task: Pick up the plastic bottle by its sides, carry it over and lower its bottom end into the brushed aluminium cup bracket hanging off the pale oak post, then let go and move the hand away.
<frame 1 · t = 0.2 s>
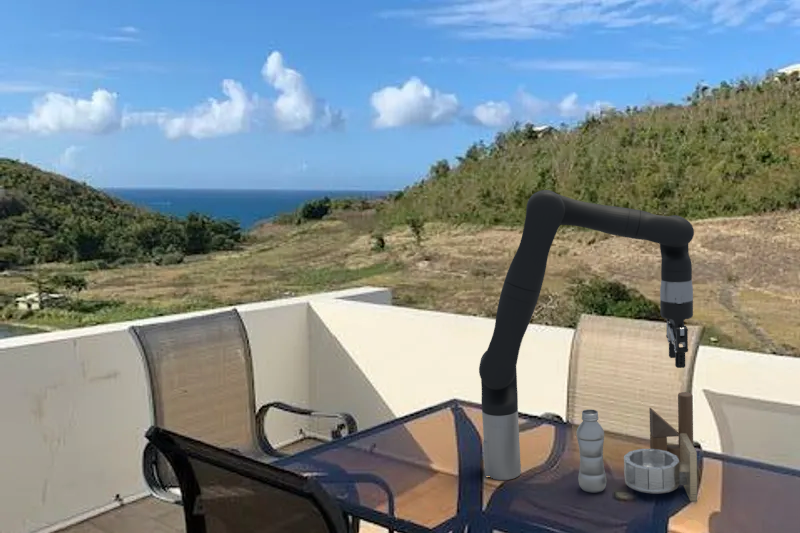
hand: (676, 362, 196), 29 cm above the table, tool pointing down, fingers open, 8 cm apart
cup bracket: (652, 490, 192), on the table
wooden wedge with rod: (672, 461, 208), on the table
plastic bottle: (592, 490, 194), on the table
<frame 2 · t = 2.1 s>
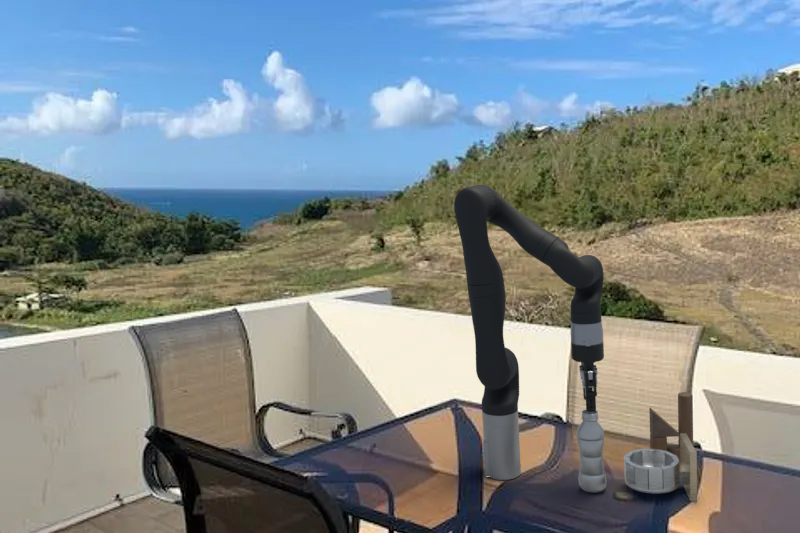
hand: (589, 405, 191), 22 cm above the table, tool pointing down, fingers open, 8 cm apart
nothing on the table moved.
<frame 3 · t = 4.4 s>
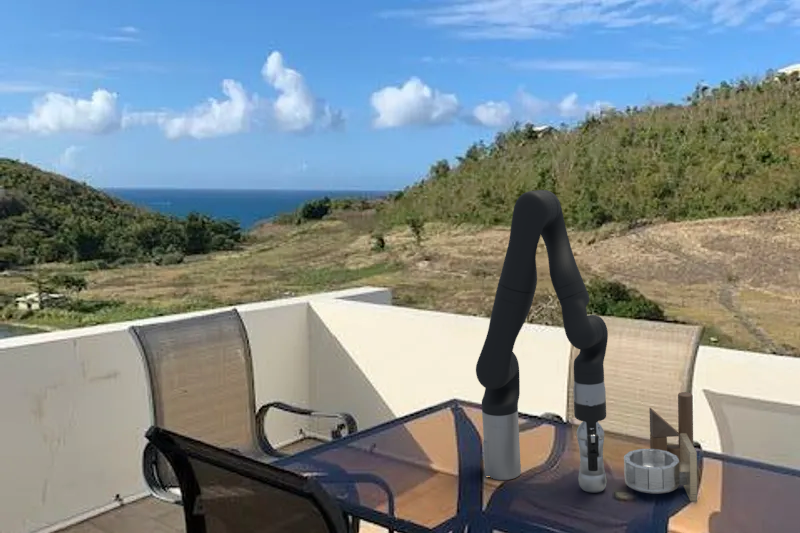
hand: (591, 465, 193), 6 cm above the table, tool pointing down, fingers closed on plastic bottle, 5 cm apart
plastic bottle: (592, 490, 194), on the table, touching gripper
everything else where it was.
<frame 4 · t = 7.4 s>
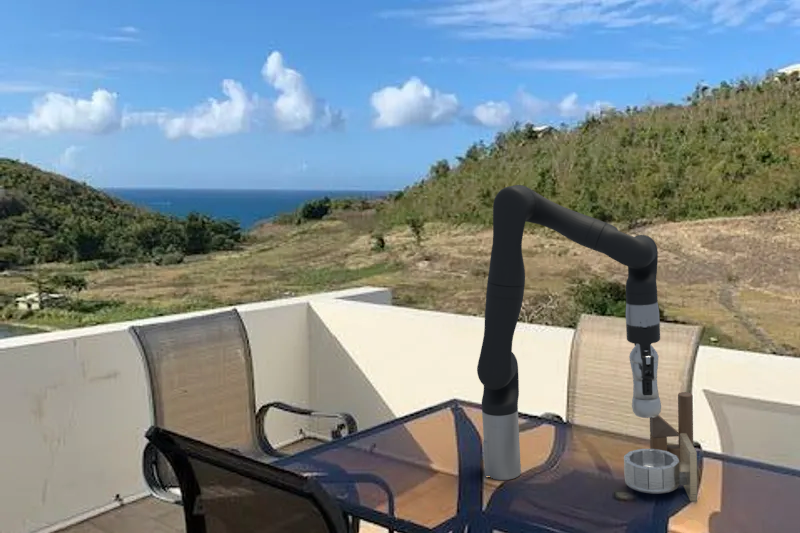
hand: (645, 390, 188), 25 cm above the table, tool pointing down, fingers closed on plastic bottle, 5 cm apart
plastic bottle: (646, 417, 189), point 18 cm above the table, touching gripper
everything else where it was.
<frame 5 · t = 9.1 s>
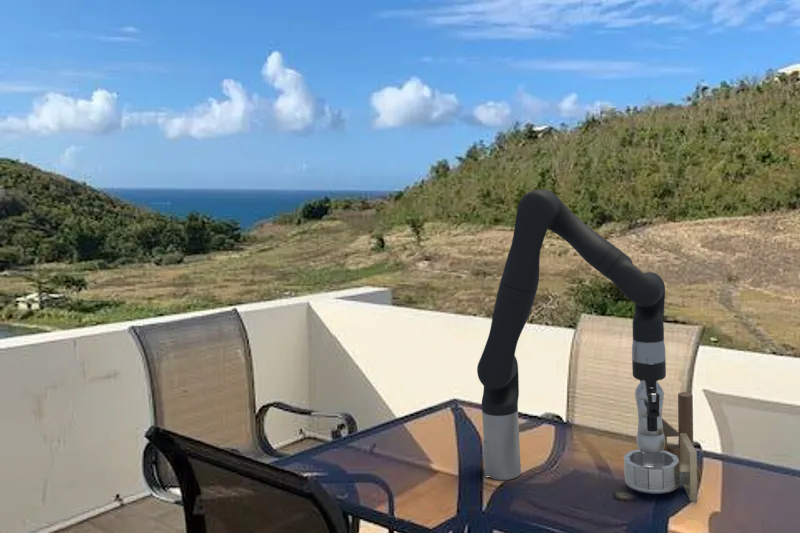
hand: (650, 426, 190), 16 cm above the table, tool pointing down, fingers closed on plastic bottle, 5 cm apart
plastic bottle: (651, 452, 191), point 10 cm above the table, touching gripper
everything else where it was.
when the fingers open (11 cm above the table, at t = 10.5 s): plastic bottle drops 2 cm, resting on cup bracket.
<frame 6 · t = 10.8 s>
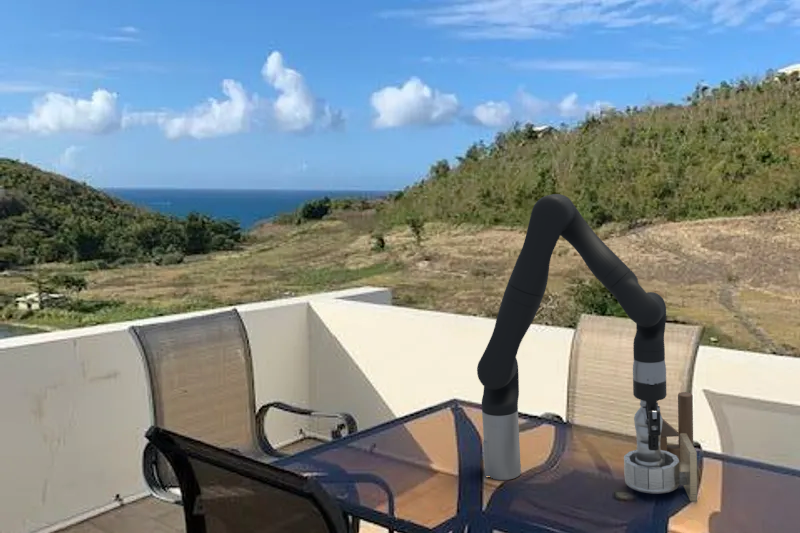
hand: (650, 443, 190), 12 cm above the table, tool pointing down, fingers open, 7 cm apart
plastic bottle: (648, 476, 193), point 3 cm above the table, touching cup bracket, gripper
everything else where it was.
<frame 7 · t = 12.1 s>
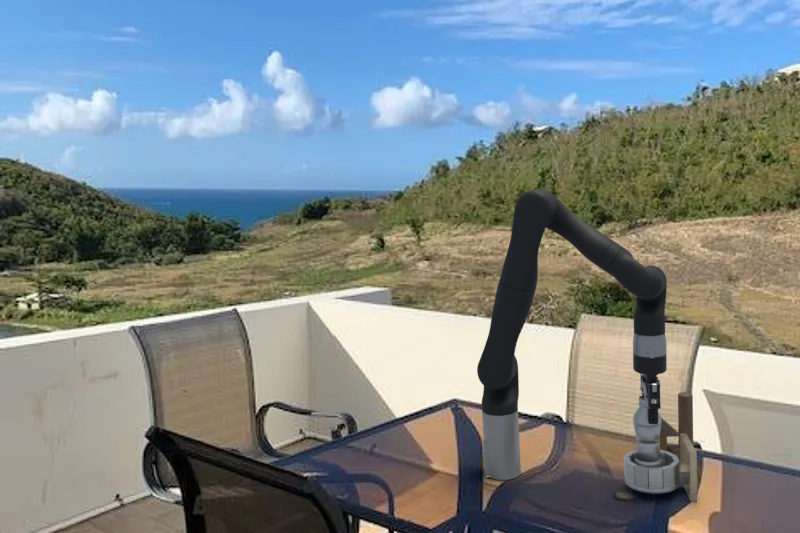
hand: (650, 417, 189), 18 cm above the table, tool pointing down, fingers open, 8 cm apart
plastic bottle: (648, 477, 193), point 3 cm above the table, touching cup bracket
everything else where it was.
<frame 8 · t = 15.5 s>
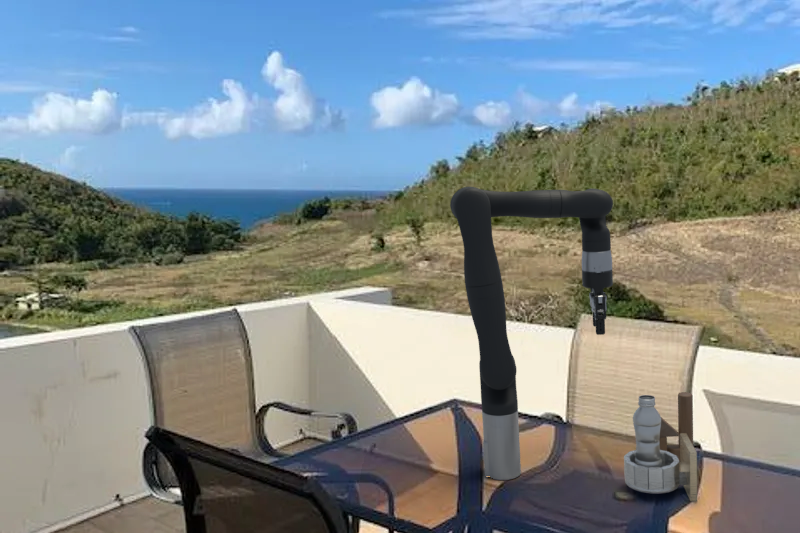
hand: (598, 330, 204), 36 cm above the table, tool pointing down, fingers open, 8 cm apart
nothing on the table moved.
at the end: plastic bottle 1.3 cm off-centre on the cup bracket, point 2.8 cm above the cup bracket's base; plastic bottle tilted 0°; the gripper is holding nothing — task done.
